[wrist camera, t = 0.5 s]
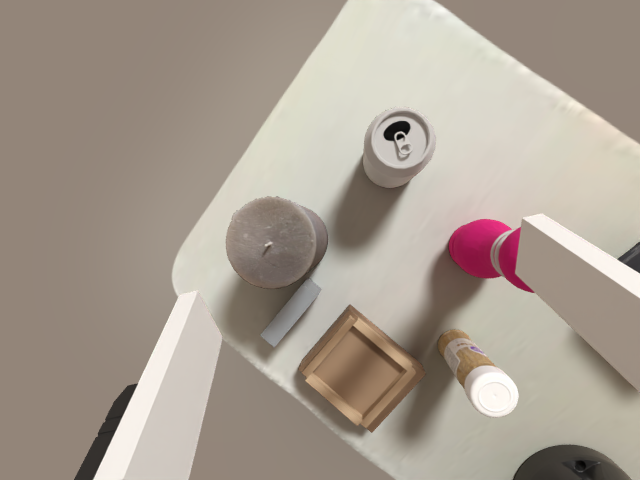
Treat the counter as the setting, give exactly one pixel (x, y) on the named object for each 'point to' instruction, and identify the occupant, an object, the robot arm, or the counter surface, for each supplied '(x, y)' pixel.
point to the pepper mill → (487, 250)
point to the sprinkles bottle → (478, 375)
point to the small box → (632, 258)
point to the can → (397, 146)
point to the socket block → (360, 369)
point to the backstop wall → (291, 312)
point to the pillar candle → (275, 242)
